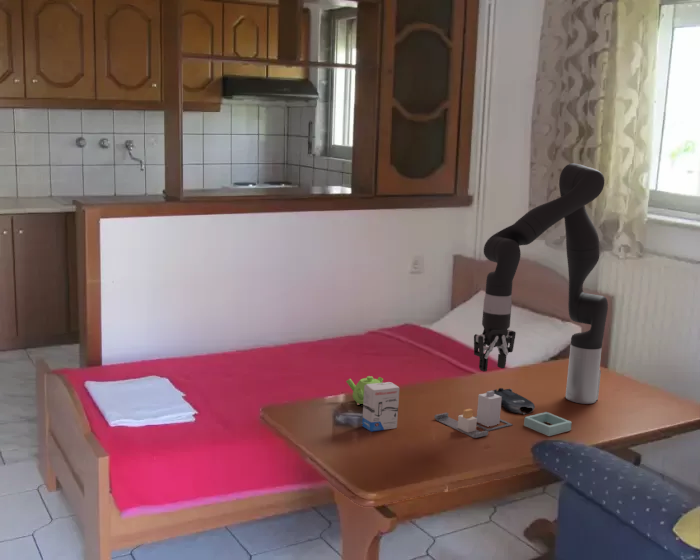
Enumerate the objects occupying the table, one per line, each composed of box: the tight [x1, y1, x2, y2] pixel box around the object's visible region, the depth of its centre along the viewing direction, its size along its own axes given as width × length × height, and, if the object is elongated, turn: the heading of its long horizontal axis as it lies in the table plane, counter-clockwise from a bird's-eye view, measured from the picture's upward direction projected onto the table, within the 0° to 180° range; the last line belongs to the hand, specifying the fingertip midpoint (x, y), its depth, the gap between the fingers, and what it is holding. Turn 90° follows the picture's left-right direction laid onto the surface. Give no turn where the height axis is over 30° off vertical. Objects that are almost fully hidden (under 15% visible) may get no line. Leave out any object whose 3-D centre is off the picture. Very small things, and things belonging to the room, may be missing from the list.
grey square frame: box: [474, 415, 513, 432], centre depth 227 cm, size 10×10×1 cm
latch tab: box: [457, 408, 478, 432], centre depth 219 cm, size 3×4×6 cm
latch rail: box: [434, 411, 489, 439], centre depth 222 cm, size 4×17×1 cm, turn 35°
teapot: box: [346, 375, 384, 404], centre depth 236 cm, size 11×12×8 cm
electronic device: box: [490, 387, 536, 415], centre depth 242 cm, size 9×6×15 cm
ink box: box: [361, 381, 400, 433], centre depth 218 cm, size 9×5×12 cm, turn 117°
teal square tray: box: [523, 411, 573, 437], centre depth 224 cm, size 9×9×2 cm
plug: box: [476, 390, 502, 428], centre depth 226 cm, size 4×4×9 cm
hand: (492, 369), depth 224 cm, fingers open, 6 cm apart
